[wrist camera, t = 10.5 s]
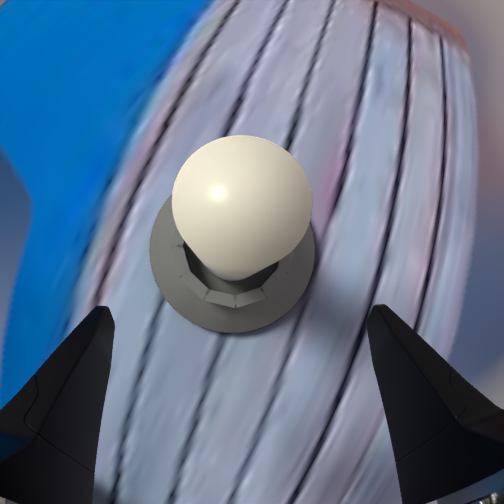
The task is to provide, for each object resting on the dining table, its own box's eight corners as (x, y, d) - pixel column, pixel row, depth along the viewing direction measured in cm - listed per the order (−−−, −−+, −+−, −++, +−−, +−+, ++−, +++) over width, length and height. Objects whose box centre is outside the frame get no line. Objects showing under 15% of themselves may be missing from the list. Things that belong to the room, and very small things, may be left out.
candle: (217, 291, 22) (206, 294, 9) (191, 234, 22) (152, 167, 10) (273, 265, 23) (335, 233, 10) (247, 209, 23) (274, 118, 10)
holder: (237, 364, 22) (238, 372, 20) (120, 253, 23) (109, 248, 20) (342, 246, 24) (355, 241, 22) (229, 143, 24) (230, 128, 22)
